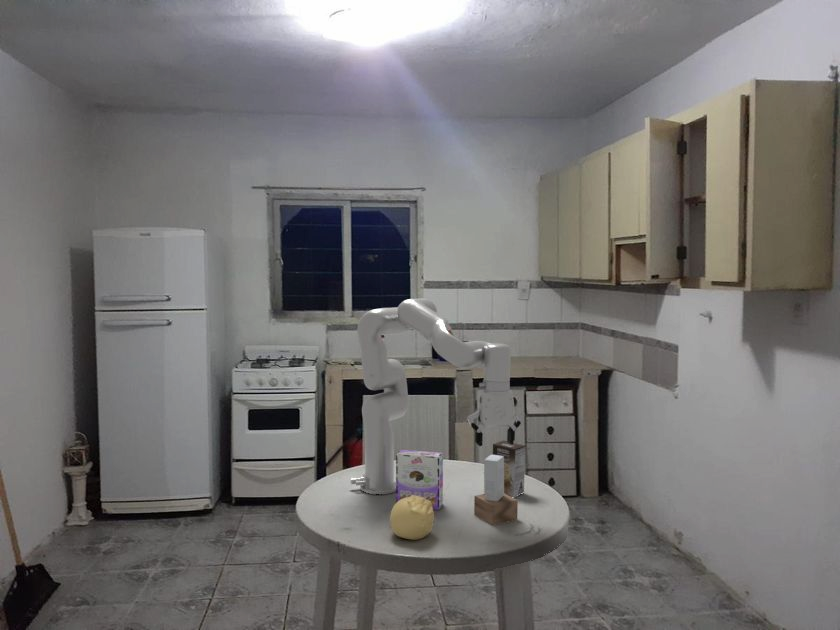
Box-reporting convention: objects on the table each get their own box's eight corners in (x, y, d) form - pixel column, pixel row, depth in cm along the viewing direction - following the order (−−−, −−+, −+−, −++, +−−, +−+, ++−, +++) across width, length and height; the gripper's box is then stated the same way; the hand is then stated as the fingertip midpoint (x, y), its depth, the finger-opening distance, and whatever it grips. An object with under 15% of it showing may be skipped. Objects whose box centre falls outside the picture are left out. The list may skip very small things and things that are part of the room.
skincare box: (490, 493, 195) (490, 454, 194) (504, 495, 193) (504, 455, 192) (483, 499, 189) (483, 459, 188) (497, 502, 187) (497, 461, 187)
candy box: (443, 504, 202) (443, 451, 201) (439, 510, 196) (439, 457, 195) (401, 499, 206) (401, 448, 205) (395, 506, 200) (395, 453, 199)
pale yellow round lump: (430, 545, 171) (430, 505, 170) (385, 542, 173) (386, 502, 172) (437, 529, 182) (437, 491, 182) (395, 525, 184) (395, 488, 184)
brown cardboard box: (492, 525, 185) (492, 505, 185) (474, 515, 193) (474, 495, 193) (517, 520, 190) (517, 500, 189) (499, 510, 197) (499, 491, 197)
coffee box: (490, 491, 214) (491, 443, 213) (502, 487, 218) (502, 440, 217) (514, 498, 207) (514, 448, 206) (525, 493, 212) (526, 445, 211)
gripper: (472, 389, 183) (471, 449, 184) (529, 387, 188) (527, 446, 189) (464, 384, 190) (462, 442, 192) (518, 383, 195) (517, 439, 196)
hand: (494, 444), depth 190 cm, fingers open, 9 cm apart
